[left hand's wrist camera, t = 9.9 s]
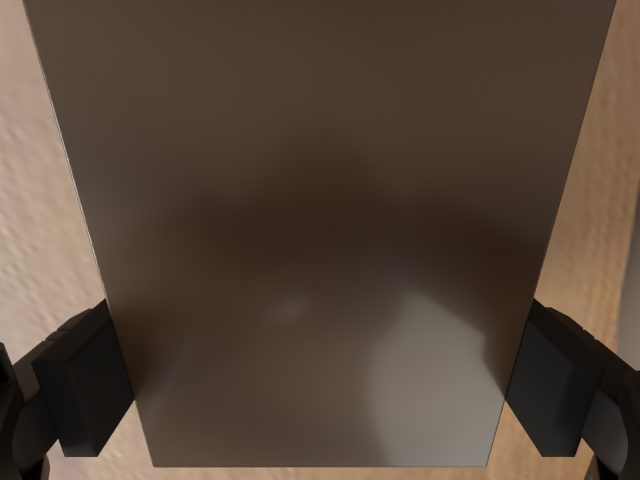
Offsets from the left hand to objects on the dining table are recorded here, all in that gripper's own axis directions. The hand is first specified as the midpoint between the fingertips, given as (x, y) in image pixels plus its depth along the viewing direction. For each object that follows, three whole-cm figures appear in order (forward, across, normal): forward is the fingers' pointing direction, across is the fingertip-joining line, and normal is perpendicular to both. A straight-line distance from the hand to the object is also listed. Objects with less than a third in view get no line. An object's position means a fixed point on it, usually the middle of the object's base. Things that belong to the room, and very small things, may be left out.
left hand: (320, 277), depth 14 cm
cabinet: (+4, 0, -5) cm, 6 cm away
